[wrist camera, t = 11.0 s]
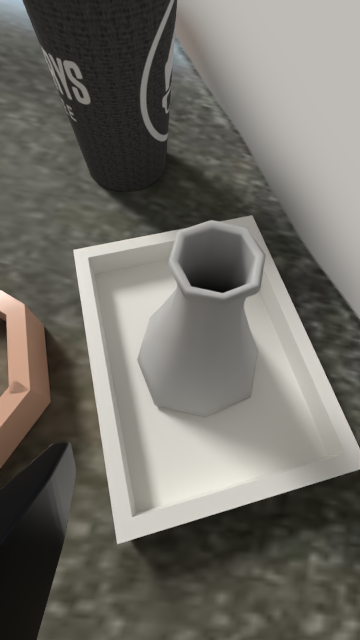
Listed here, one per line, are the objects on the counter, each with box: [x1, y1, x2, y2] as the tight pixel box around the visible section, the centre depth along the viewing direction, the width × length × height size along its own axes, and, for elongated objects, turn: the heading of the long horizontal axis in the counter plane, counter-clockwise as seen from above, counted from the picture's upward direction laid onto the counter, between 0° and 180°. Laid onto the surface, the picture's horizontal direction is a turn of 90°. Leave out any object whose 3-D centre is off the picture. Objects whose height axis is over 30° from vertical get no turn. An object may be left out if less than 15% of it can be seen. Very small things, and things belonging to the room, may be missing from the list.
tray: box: [73, 215, 360, 544], centre depth 19 cm, size 16×12×2 cm
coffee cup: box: [23, 0, 177, 191], centre depth 21 cm, size 10×10×15 cm
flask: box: [137, 220, 266, 418], centre depth 15 cm, size 7×7×10 cm
